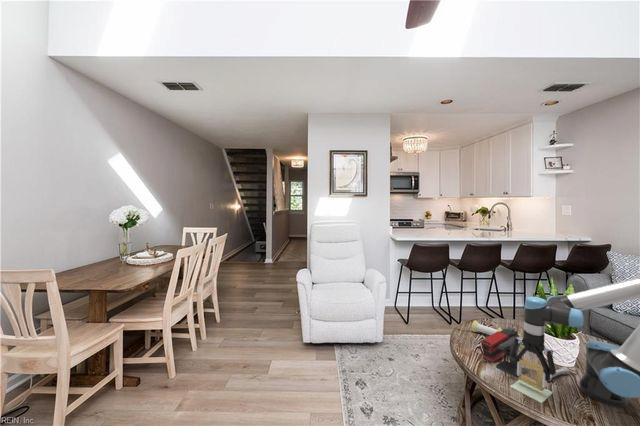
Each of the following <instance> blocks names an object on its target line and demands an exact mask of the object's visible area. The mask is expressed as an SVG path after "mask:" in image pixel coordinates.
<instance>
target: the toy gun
mask: <svg viewBox="0 0 640 426" xmlns="http://www.w3.org/2000/svg"><path fill="white" fill-rule="evenodd" d="M518 333H519V332H518V331H517V330H515V329H514V327H512V326H507V328H506V329H502V331H500V332H498V331H497V332H496V333H494V334H492V335H489V336H488V337H487V336H486V337H485V338H484V339H482V340H481V341H480V343H481V346H480V347H481V349H482V358H483V359H484V360H486V361H488V362H490V363H491V364H493V363H496V362H497V361H499V360H500V359H501V358H503V357H505V356H506V354H508V355H510V350H511V345H510V346H508V347H506V348H504V349H503V350H501V349H498V345H500V344H502V343H503V342H505V341H507V340H509V339H511V337H513V336H514V337H516V338H517V337H519V335H518Z"/></svg>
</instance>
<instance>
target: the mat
mask: <svg viewBox="0 0 640 426" xmlns="http://www.w3.org/2000/svg"><path fill="white" fill-rule="evenodd" d="M509 386H510V388H511V389H512V390H515V391H517V392H519V393H521V394H523V395H524V396H527V397H528V398H531V399H532V400H534V401H536V402H538V403H539V404H543V403H544V402H545V401H546V400H547V399H549V397H550V396H552V395H553V394H554V392H553V391H551V390H549V389H547V388H546V387H545V388H544V390H543V391H540V390H538V389H536V388H534V387H532V386H530V385H528V384H526V383H524V382H522V381H520V380H519V379H518V380H517V381H515V382H514V383H512V384H511V385H509Z"/></svg>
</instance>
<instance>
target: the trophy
mask: <svg viewBox="0 0 640 426" xmlns="http://www.w3.org/2000/svg"><path fill="white" fill-rule="evenodd" d="M502 330H503V329H502V328H501V327H498V328H496V329H495V328H492V327H490V326H486V325H484V324H481V323H480V322H478V321H477V320H476V319H475V320H473V322H472V324H471V331H472V333H477V332H480V333H483V334H486V335H489V336H491V335H492V334H494V333H496V332H497V331H498V332H500V331H502ZM518 335H519V338H520V339H523V333H522V332H518ZM524 347H525V346H524V344H523V343H520V346H519V349H518V350H521V351H522V350H523V348H524Z"/></svg>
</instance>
